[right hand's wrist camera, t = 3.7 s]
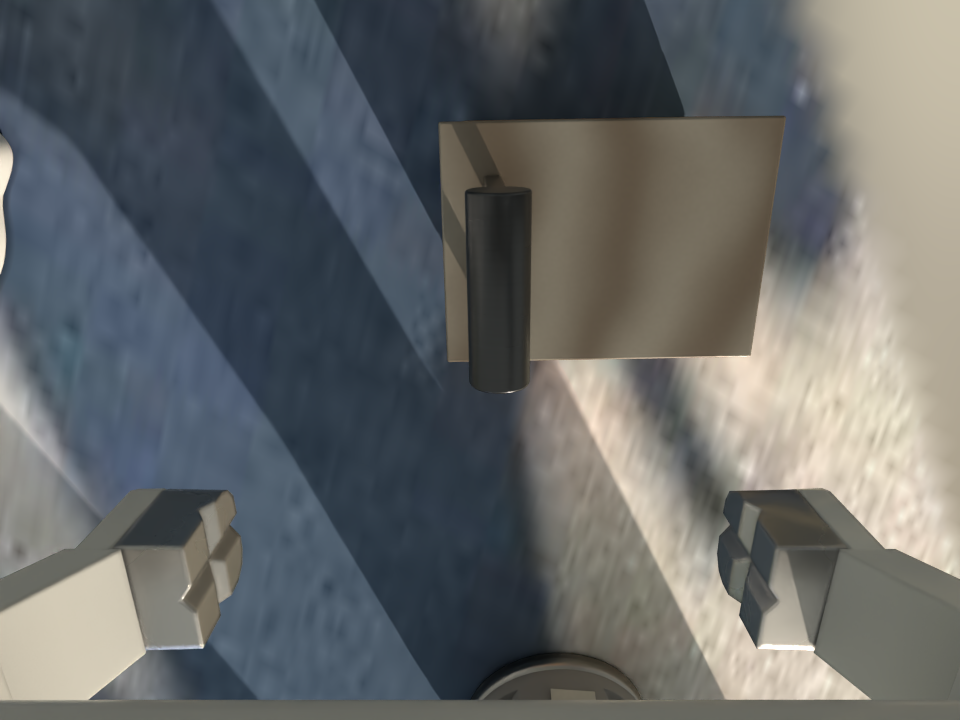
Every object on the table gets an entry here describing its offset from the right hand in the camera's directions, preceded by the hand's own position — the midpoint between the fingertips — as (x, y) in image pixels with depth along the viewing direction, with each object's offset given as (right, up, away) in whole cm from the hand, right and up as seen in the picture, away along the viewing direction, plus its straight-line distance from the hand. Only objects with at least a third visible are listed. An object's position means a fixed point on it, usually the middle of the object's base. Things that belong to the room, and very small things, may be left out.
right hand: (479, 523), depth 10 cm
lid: (+5, +8, +17) cm, 20 cm away
